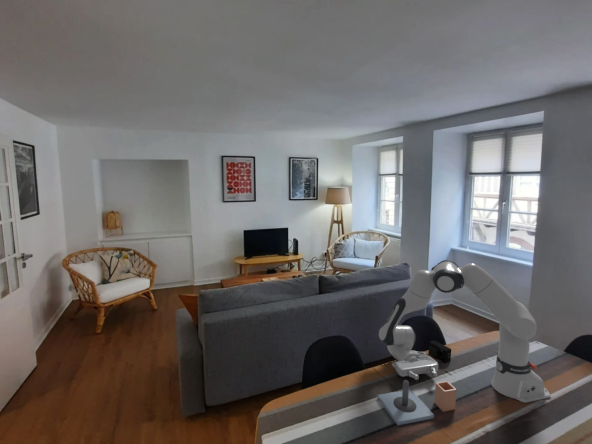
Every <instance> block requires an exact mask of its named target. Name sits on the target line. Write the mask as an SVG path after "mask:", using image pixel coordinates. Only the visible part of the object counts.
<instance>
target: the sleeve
mask: <svg viewBox="0 0 592 444" xmlns="http://www.w3.org/2000/svg"><path fill="white" fill-rule="evenodd" d="M456 401H457V388H456V387H455V386H454V385H453V384H451V383H450V382H449V381H448V380H445V381H439V382H435V386H434V404H435V405H436V406H437V407H438V408H439V409H440V410H441V411H442V412H443V413H444V412H450V411H454V410H456V404H457V403H456Z"/></svg>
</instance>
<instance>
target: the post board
mask: <svg viewBox="0 0 592 444" xmlns="http://www.w3.org/2000/svg"><path fill="white" fill-rule="evenodd" d="M377 399H378V401H379V402H380V403H381V404H382V406H383V408H384V409H385V410H386V412H387V413H388V414H389V416H390V417H391V418H392V420H393V422H395V424H396V425H397V426H401V425H407V424H412V423H417V422H422V421H426V420H427V421H429V420H432V419H435V413H433V412H432V411H431V409H430V408H429V407H428V406H427V405H426V404H425V403H424V402H423V401H422V400H421V399H420V398H419V396H418V395H417V394H416V393H415V391H413V390H412V389H411V388H410V382H409V380H407V379H405V380H403V381H402V390H399V391H394V392H393V391H392V392H386V393H381V394H377Z"/></svg>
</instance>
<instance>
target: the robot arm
mask: <svg viewBox="0 0 592 444" xmlns="http://www.w3.org/2000/svg"><path fill="white" fill-rule="evenodd" d="M463 287H465V288H466V289H468V290H469V291H470V292H471V293H472V294H473V296H475V297H476V298H477V299H478V300H479V301H480V302H481V303H482V304H483V305H484V306H486V308H487V309H488V310H489V312H490V313H491V314H492V315H493V317H495V318H496V319H497V320H498V322H499V323H498V324H499V326H498V328H499V330H498V331H499V332H498V333H499V342H498V352H497V353H498V354H497V356H496V361H495V362H496V363H495V365H496V368H495V371H494V375H493V378H492V380H491V381H490V384H491V387H492V388H493V389H494V390H495V391H497V393H499V394H501V395H504V396H505V397H508V398H511V399H515V400H518V401H519V402H521V403H525V404H526V403H531V402H535V401H541V400H543V399H549V398H551V394H550V391H549V390H548V389H547V388H546V387H545V384H544V380H543V379H542V378H541V377H540V376H539V375H538V374H537V373H535V372H534V371H535V370H536V369H538V366H537V365H536V364H534V363H533V362H532V363H531V362H530V361H529V356H530V353H529V352H530V342H529V340H530V339H532V338H534V337H535V336H536V334H537V331H538V327H537V322H536V319H535V318H534V316H533V315H532V314H531V313H530V311H529V309H528V308H527V307H526V306H525V305H524V304H523V303H521V302H520V301H518V300H516V299H515V298H514V297H513V295H512V294H511V293H510V292H509V291H508V290H507V289H506V288H505V287H503V285H501V283H499V281H498V280H496V278H494V277H493V276H492V275H491V274H490V273H488V272H487V271H486V270H485V269H483V268H482V267H480V266H479V265H478V264H476V263H473V262H470V263H466V264H464V265H463V266H460V267H459V266H458V264H457V263H456V262H454V261H453V260H451V259H450V260H449V259H445V260H441V261H439V262H438V263H437V264H435V265H434V266H433V267H432V268H431V270H428V269H420V270H417V271H416V272H415V275H413V277H412V280H410V283H409V285H408V289H407V290H406V292H405V294H403V295H402V296H401V297H400V298H398V300H396V302H395V303H394V305H393V307H392V308H391V310H390V312H389V313H388V314H389V315H388V316H387V318H386V319H385V321H384V323H383V324H382V325H381V327H379V330H378V339H379V341H380V342H381V343H382V344H383V345H384V346H386V347H387V350H388V352H389V353H390V355H392V357H393V358H394V359H395V360H396V361H393V362H392V363H391V366H392V367H393V368H394V369H395V371H396V373H397V374H398V375H399V377H403V378H404V377H410V378H413V379H414V380H416V381H417V380H419V378H420V376H419V375H421V374H427V373H429V374H430V373H431V376H432V377H434V378H435V377H438V373H437V372H438V371H439V363H438V361H436V360H435V358H432V356H431V355H427V354H428V353H427V352H426V351H418V350H417V351H416V350H412V349H413V348H414V345H415V343H416V339H417V336H416V333H415V330H414V329H413V327H412V326H410V325H406V324H405V325H402V324H400V321H401V320H402V318H403V317H404V316H405V315H407V314H409V313H413V312H417V311H421V310H423V309H425V308H426V307H427V306H428V305H429V303H430V302H431V299H432V296H433V294H434V291H435V290H436V289H437V290H438V291H440V292H442V293H445V294H448V293H452V292H454V291H456V290H459V289H461V288H463ZM533 370H534V371H533Z"/></svg>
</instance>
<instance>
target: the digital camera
mask: <svg viewBox="0 0 592 444" xmlns="http://www.w3.org/2000/svg"><path fill="white" fill-rule="evenodd" d="M427 354H428V356H430V357H433V359H436V360H438V361H440V362H442V363H444V364H447V362H448V363H450V362H451V358H452V348H450V347H448V346H446V345H444V344H442V343H440V342H438V341H437V340H431V341H429V342H428V353H427Z"/></svg>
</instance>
